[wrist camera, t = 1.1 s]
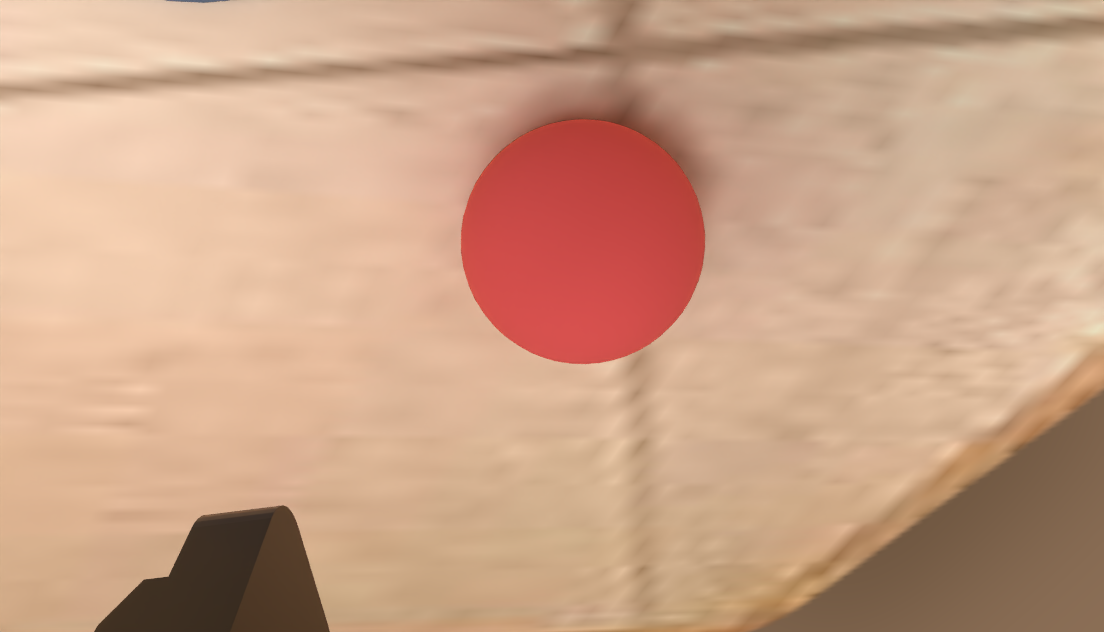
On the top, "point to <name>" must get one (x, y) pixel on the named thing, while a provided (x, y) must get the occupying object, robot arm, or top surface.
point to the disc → (197, 0)
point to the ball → (582, 241)
